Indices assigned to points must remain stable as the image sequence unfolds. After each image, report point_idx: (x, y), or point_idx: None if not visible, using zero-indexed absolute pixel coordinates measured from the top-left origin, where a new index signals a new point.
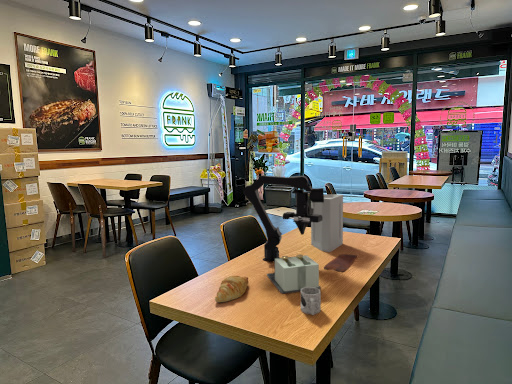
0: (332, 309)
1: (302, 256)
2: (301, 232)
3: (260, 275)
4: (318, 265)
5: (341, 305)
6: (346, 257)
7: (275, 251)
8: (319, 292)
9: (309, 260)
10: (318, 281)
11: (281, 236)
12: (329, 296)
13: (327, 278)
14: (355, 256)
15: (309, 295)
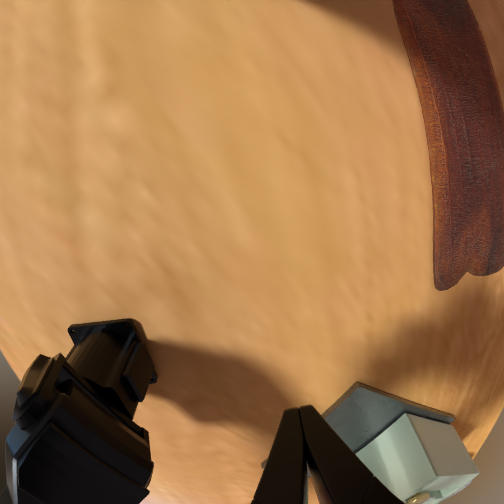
0: (477, 439)
1: (428, 497)
2: (306, 458)
3: (243, 470)
4: (477, 471)
5: (492, 421)
6: (459, 51)
7: (136, 402)
8: (471, 481)
9: (452, 482)
10: (458, 437)
11: (65, 411)
12: (473, 419)
13: (464, 357)
14: (468, 10)
15: (455, 493)
